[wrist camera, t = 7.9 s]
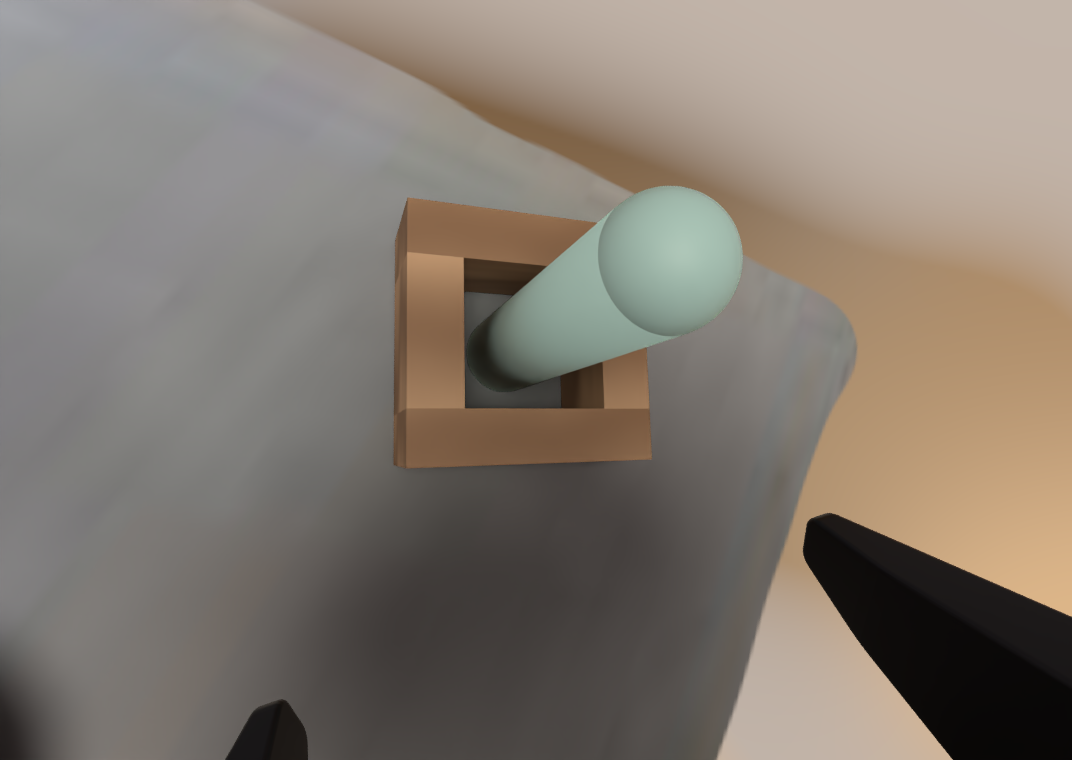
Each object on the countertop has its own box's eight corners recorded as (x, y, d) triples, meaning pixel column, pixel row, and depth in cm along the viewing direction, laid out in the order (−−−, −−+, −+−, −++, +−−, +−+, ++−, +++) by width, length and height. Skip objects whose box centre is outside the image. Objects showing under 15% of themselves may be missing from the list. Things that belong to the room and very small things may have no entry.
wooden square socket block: (602, 457, 24) (652, 459, 20) (393, 464, 21) (406, 468, 17) (595, 261, 25) (640, 228, 21) (395, 240, 22) (407, 197, 18)
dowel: (527, 401, 23) (762, 344, 10) (456, 377, 22) (620, 280, 9) (546, 333, 24) (789, 200, 11) (479, 306, 23) (659, 127, 10)
